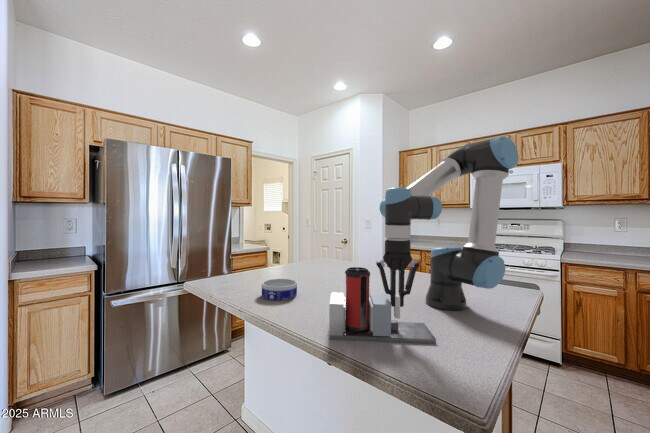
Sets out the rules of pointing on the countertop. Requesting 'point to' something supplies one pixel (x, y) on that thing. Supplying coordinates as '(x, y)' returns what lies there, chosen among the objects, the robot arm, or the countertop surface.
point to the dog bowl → (279, 289)
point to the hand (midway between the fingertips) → (396, 316)
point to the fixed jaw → (337, 314)
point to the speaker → (357, 299)
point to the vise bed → (392, 334)
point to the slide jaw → (380, 315)
